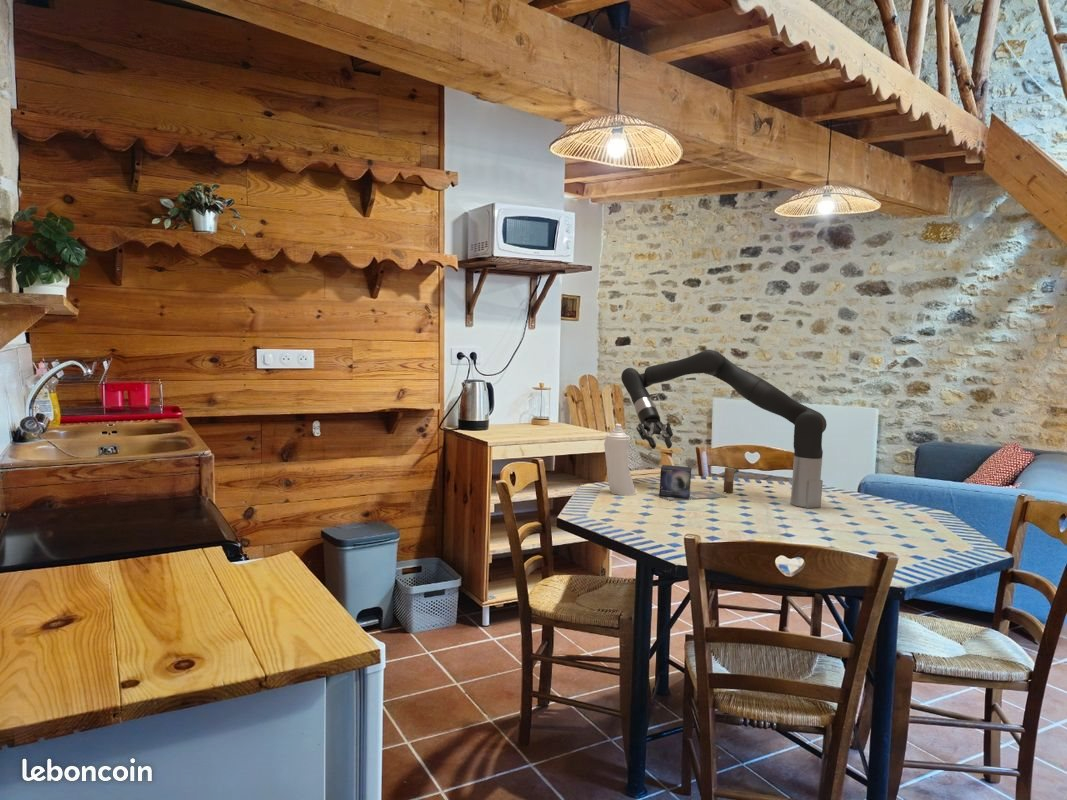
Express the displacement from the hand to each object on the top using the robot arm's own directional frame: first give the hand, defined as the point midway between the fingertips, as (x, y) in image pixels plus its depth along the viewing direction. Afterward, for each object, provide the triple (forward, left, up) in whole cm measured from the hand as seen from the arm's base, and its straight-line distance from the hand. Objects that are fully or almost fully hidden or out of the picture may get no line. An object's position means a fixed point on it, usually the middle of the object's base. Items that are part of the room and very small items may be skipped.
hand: (662, 447), depth 257 cm
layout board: (-9, -7, -17) cm, 20 cm away
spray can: (+2, +16, -17) cm, 24 cm away
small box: (-9, 0, -16) cm, 19 cm away
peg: (-7, -26, -17) cm, 31 cm away
